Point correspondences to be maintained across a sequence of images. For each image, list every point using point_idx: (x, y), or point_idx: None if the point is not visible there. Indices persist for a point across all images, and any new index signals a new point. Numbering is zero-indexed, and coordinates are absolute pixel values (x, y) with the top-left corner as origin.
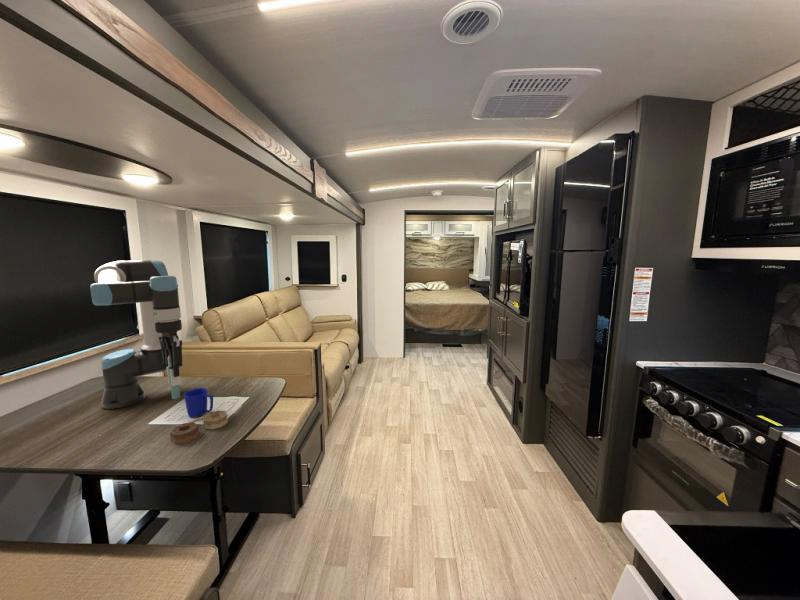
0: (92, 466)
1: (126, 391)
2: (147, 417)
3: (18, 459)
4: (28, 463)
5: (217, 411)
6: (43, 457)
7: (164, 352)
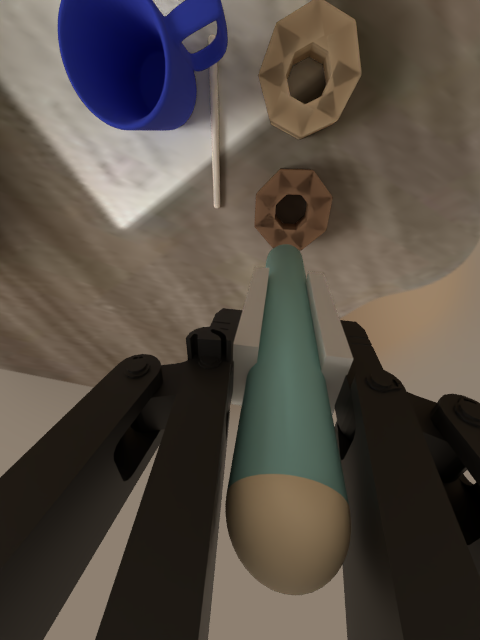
0: None
1: None
2: (76, 213)
3: None
4: None
5: (282, 38)
6: None
7: (71, 569)
